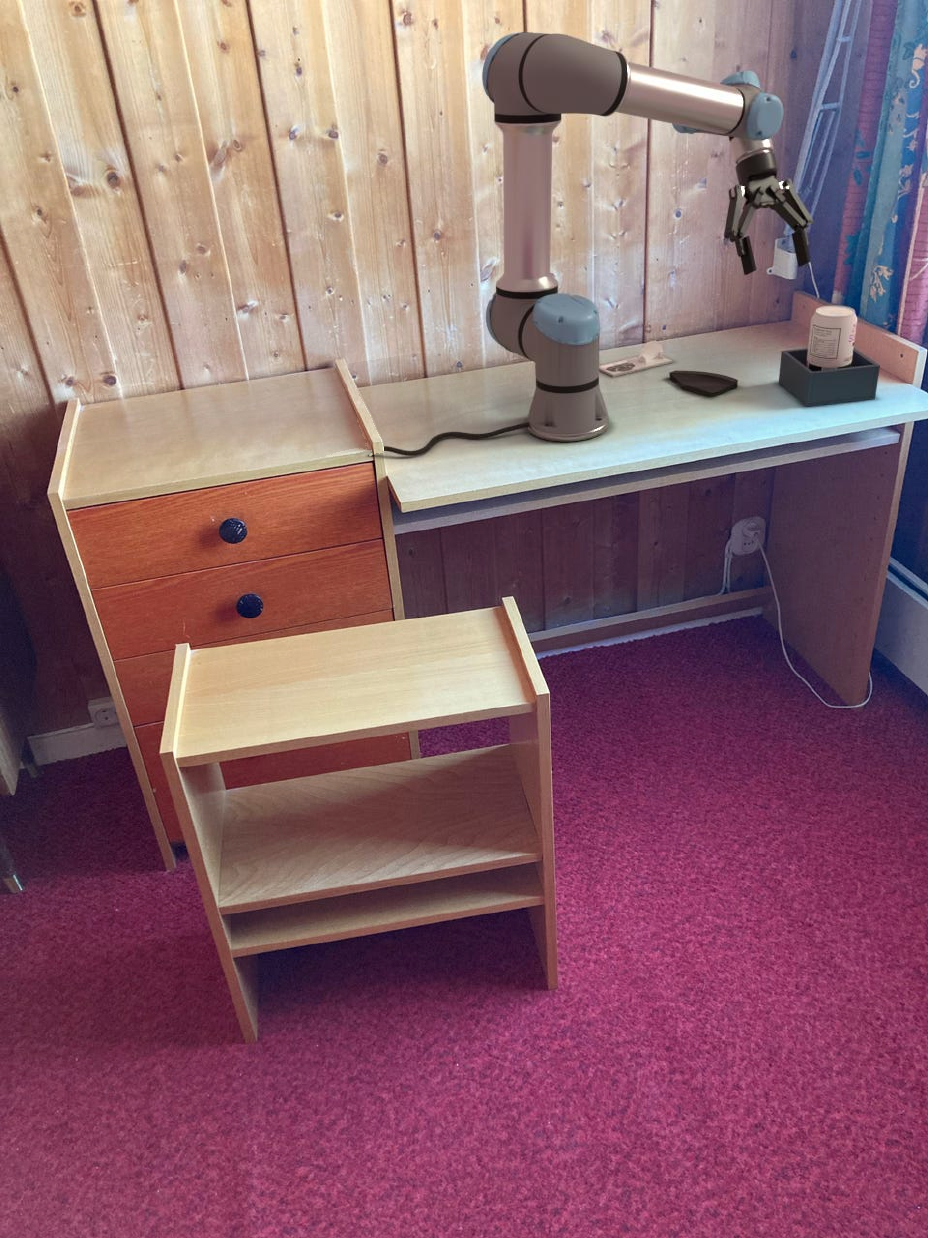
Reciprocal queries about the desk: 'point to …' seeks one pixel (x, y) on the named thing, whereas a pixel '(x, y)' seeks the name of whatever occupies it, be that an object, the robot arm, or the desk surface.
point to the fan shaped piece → (703, 382)
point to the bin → (828, 379)
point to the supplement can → (831, 338)
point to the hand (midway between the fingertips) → (777, 268)
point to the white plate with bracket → (638, 361)
